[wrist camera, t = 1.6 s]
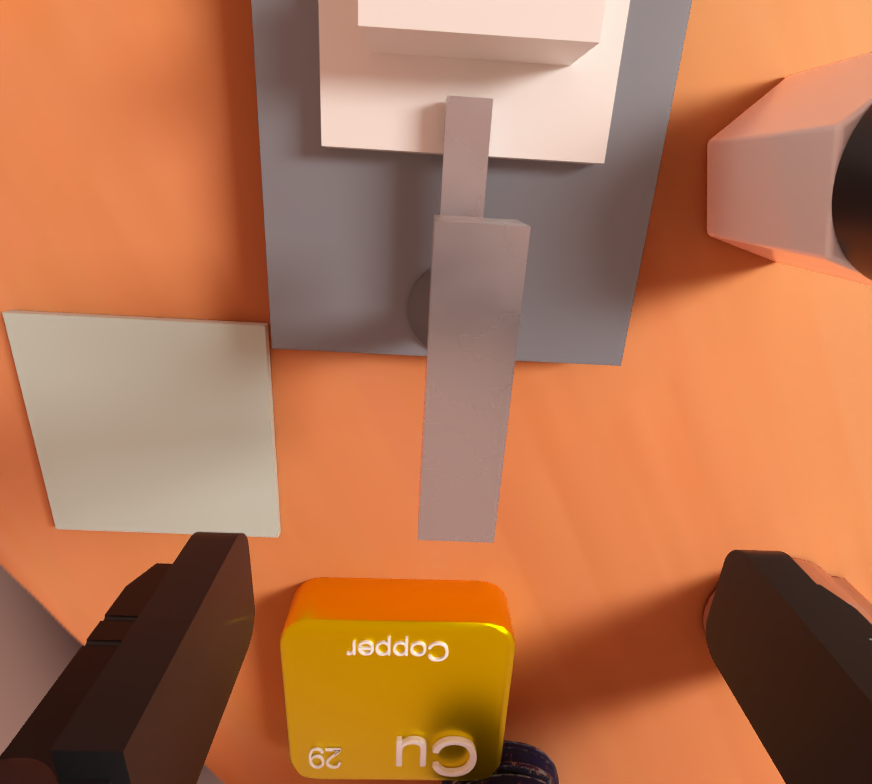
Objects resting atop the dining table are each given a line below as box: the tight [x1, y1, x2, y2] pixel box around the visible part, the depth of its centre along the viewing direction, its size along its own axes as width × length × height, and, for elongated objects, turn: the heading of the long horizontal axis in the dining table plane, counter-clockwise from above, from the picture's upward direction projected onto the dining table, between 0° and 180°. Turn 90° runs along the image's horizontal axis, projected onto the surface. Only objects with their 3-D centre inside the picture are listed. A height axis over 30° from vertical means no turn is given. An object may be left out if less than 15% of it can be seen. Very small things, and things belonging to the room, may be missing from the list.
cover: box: [318, 0, 630, 164], centre depth 20 cm, size 12×10×6 cm
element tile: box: [280, 577, 515, 781], centre depth 38 cm, size 15×15×5 cm
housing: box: [251, 0, 692, 366], centre depth 25 cm, size 18×23×3 cm
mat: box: [2, 310, 281, 537], centre depth 32 cm, size 14×14×1 cm
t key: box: [418, 96, 531, 543], centre depth 20 cm, size 2×14×11 cm, turn 177°
